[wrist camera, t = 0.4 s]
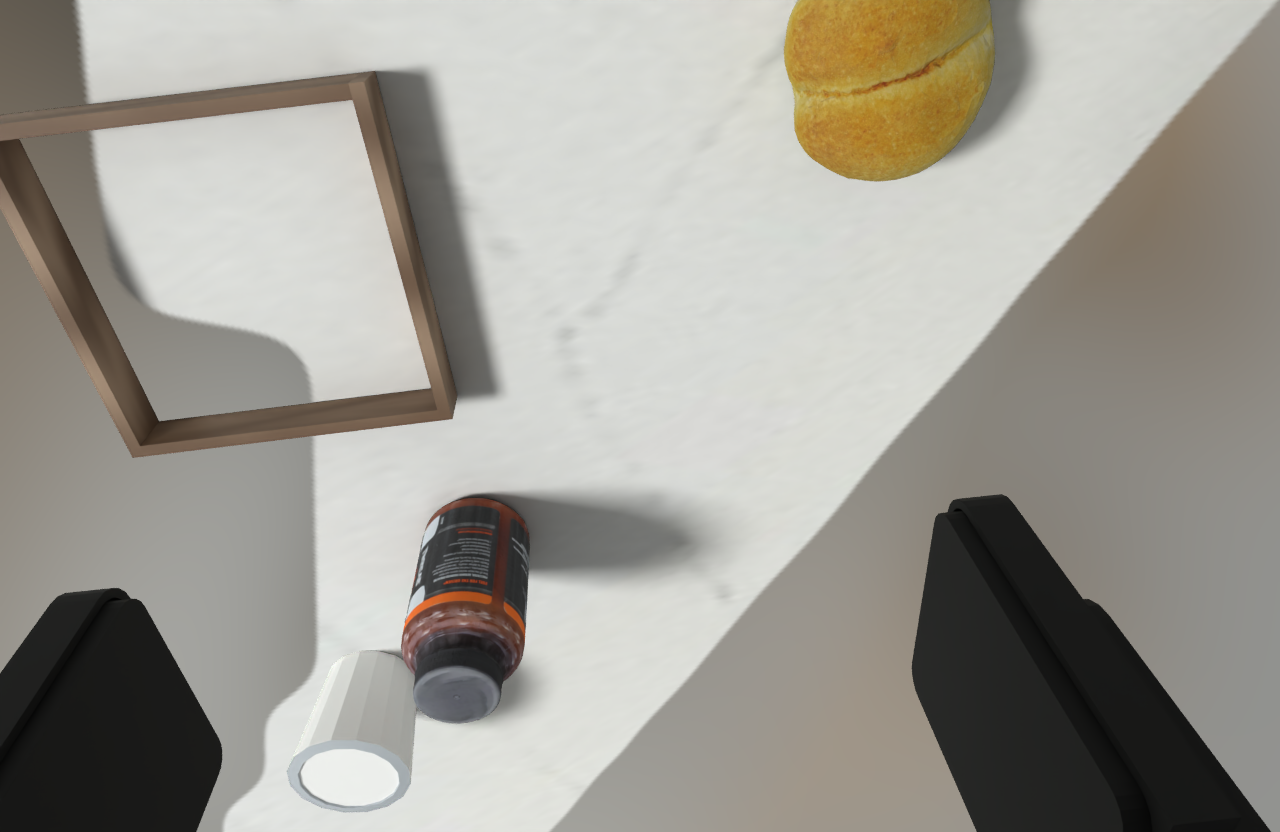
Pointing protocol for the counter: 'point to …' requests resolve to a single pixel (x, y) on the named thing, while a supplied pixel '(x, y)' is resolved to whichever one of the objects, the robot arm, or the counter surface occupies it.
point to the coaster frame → (16, 190)
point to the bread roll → (887, 81)
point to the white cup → (358, 736)
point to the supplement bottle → (467, 609)
